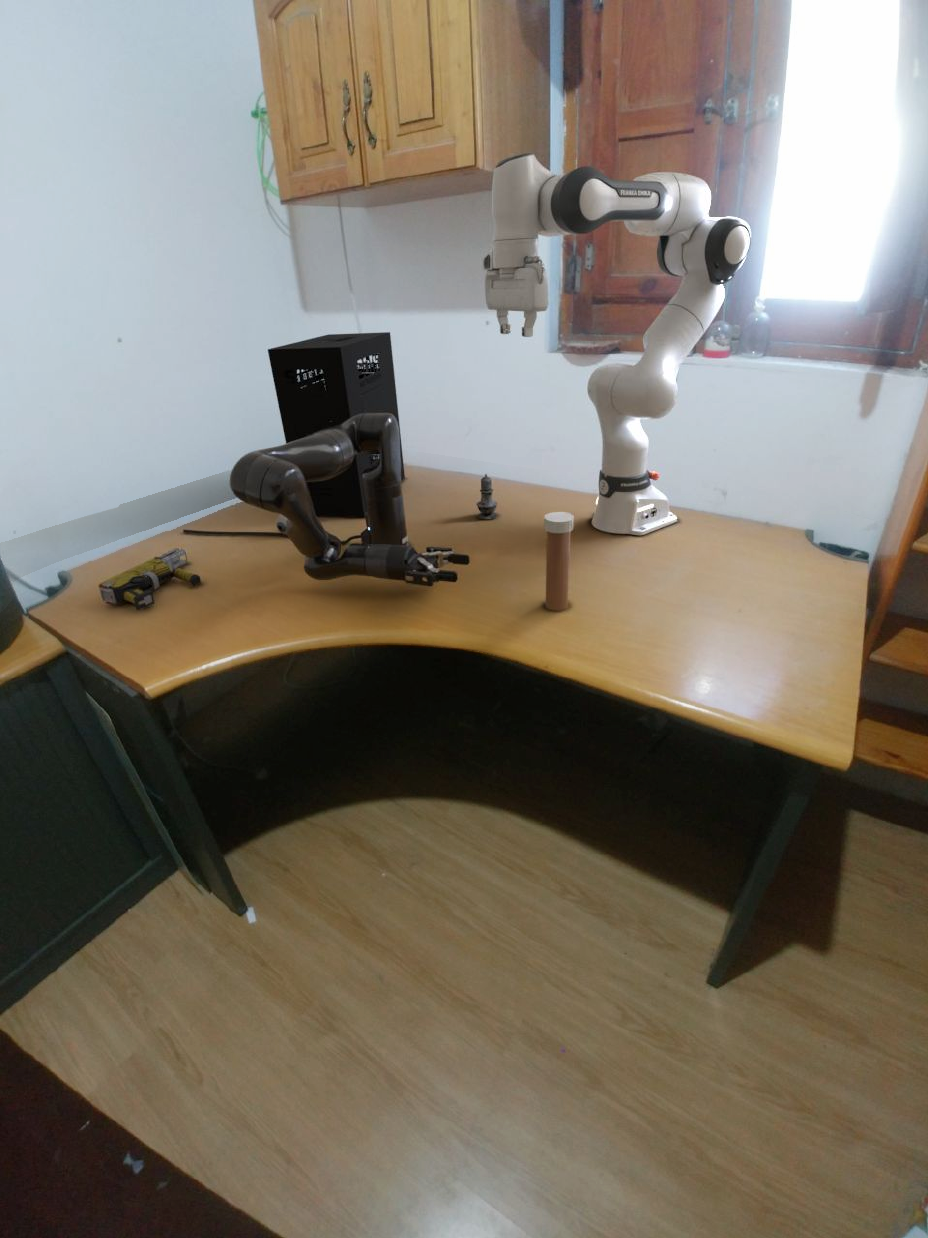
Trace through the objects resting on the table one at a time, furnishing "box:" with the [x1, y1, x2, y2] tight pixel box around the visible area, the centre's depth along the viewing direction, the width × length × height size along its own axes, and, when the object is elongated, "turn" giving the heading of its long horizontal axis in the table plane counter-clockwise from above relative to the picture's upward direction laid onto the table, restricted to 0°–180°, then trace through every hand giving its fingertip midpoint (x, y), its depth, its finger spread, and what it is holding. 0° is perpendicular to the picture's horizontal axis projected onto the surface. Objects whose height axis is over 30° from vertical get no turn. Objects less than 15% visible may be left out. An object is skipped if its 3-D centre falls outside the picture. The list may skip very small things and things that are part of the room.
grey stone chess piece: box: [476, 473, 498, 520], centre depth 166 cm, size 6×6×12 cm
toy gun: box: [98, 547, 202, 611], centre depth 139 cm, size 5×24×15 cm
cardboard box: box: [267, 331, 406, 518], centre depth 180 cm, size 38×20×45 cm, turn 167°
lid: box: [543, 511, 575, 533], centre depth 114 cm, size 6×6×2 cm
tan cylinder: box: [544, 531, 572, 612], centre depth 118 cm, size 4×4×19 cm
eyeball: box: [275, 514, 287, 534], centre depth 163 cm, size 6×6×6 cm
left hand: (463, 568), depth 125 cm, fingers open, 8 cm apart
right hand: (516, 335), depth 125 cm, fingers open, 8 cm apart
